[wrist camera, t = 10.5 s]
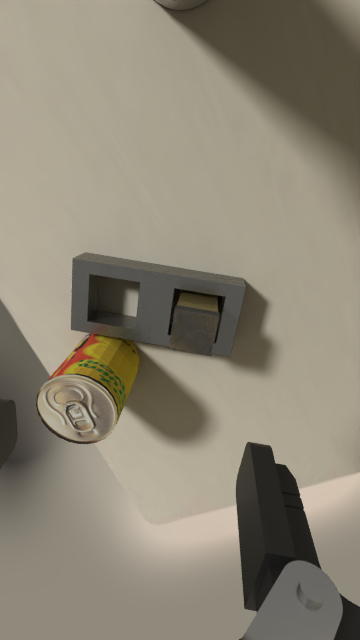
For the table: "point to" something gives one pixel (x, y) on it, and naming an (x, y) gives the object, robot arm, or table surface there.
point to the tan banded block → (195, 323)
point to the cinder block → (150, 299)
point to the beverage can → (89, 389)
